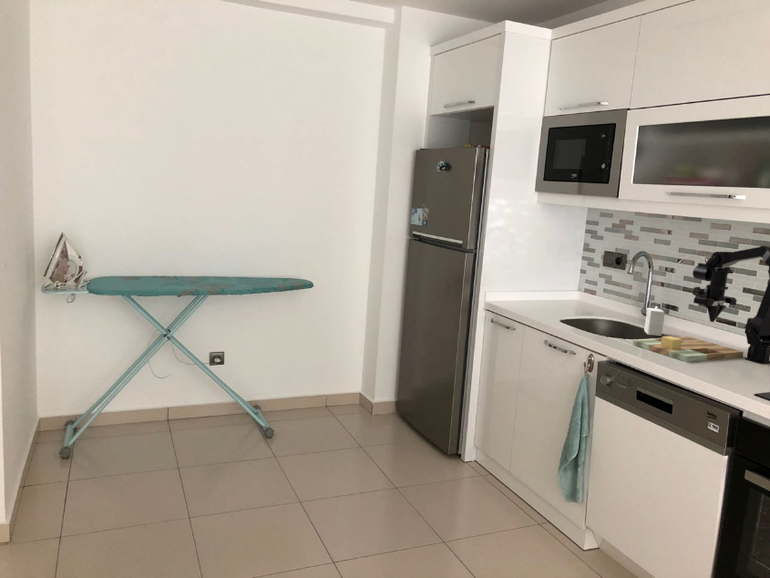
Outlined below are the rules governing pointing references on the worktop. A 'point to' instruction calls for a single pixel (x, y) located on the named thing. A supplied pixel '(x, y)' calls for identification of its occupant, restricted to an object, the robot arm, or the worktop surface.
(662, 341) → the mustard block
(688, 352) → the trap deck
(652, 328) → the small box
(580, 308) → the worktop surface
